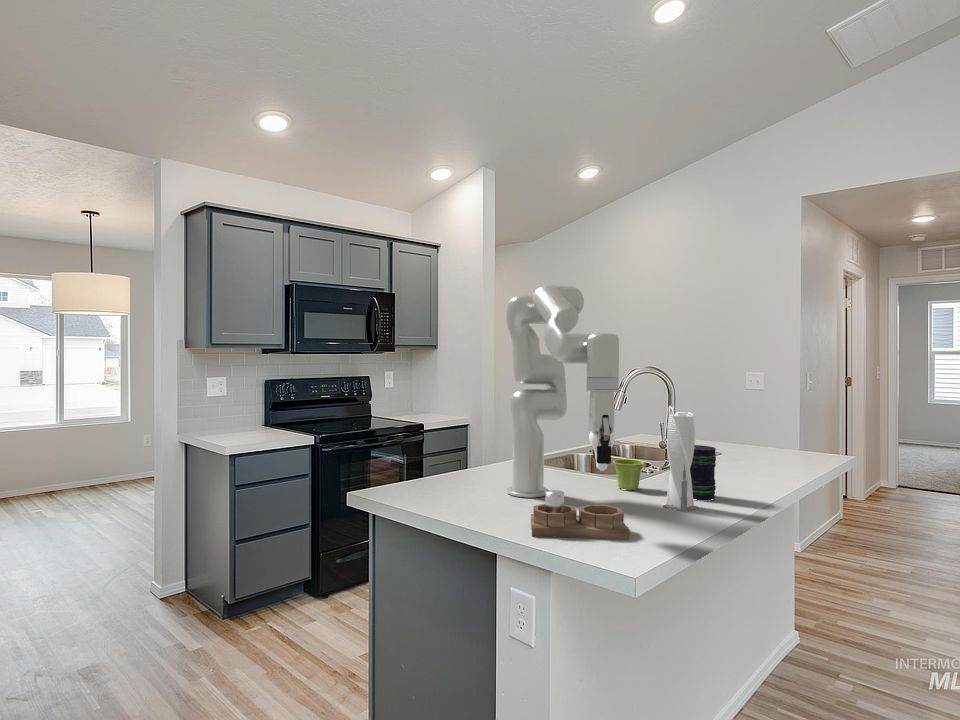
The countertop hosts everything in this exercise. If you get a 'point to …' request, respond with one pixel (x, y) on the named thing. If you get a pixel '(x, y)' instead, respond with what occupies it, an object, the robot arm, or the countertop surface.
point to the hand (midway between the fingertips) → (601, 460)
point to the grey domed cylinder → (554, 501)
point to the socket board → (580, 522)
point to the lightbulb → (594, 443)
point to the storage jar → (703, 472)
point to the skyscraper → (680, 460)
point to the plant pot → (628, 473)
